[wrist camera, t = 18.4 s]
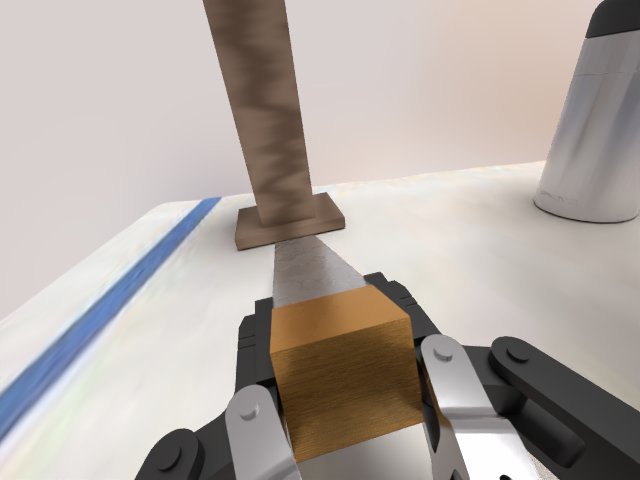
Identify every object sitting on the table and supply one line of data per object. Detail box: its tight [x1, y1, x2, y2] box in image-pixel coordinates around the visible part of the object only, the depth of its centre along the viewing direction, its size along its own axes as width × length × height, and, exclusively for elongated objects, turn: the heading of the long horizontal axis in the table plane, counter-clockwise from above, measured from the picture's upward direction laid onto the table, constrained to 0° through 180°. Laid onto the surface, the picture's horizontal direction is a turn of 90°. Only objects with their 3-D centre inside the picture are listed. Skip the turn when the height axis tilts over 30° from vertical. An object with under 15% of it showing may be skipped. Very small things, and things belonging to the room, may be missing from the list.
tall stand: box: [203, 0, 345, 250], centre depth 30 cm, size 14×13×32 cm
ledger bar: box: [270, 235, 423, 463], centre depth 17 cm, size 4×20×4 cm, turn 13°
